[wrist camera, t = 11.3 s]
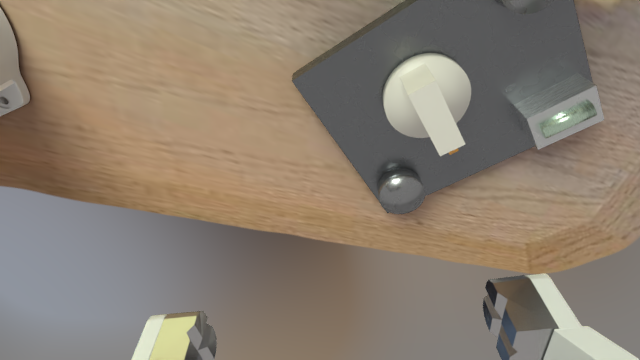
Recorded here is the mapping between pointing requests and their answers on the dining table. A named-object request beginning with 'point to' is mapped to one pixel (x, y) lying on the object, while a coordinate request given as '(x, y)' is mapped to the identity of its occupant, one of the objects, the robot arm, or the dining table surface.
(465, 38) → the levelling base
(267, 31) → the dining table surface
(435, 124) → the knob
